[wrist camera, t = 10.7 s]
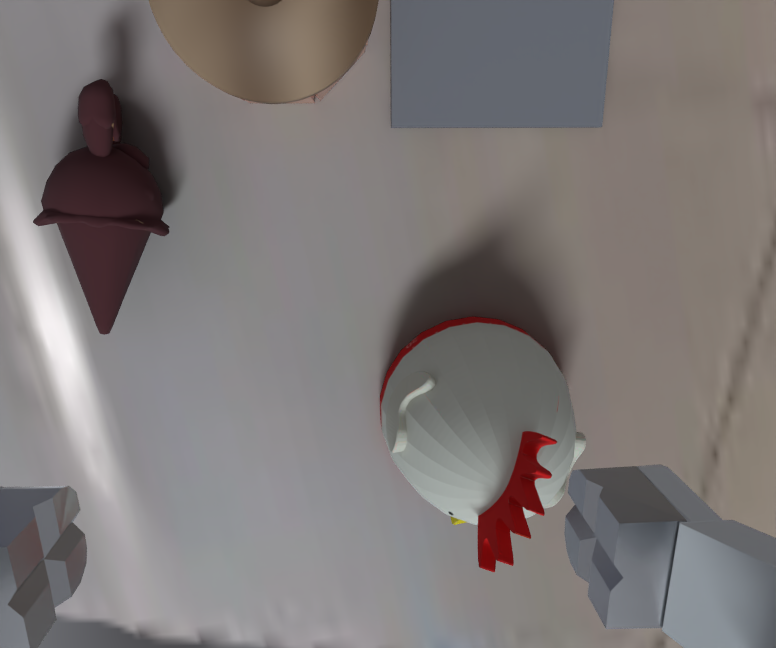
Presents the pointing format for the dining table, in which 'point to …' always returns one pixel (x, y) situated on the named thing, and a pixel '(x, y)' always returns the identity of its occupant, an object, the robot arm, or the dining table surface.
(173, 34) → the lid
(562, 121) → the mat
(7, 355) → the dining table surface
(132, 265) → the icecream
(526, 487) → the kitchen timer
